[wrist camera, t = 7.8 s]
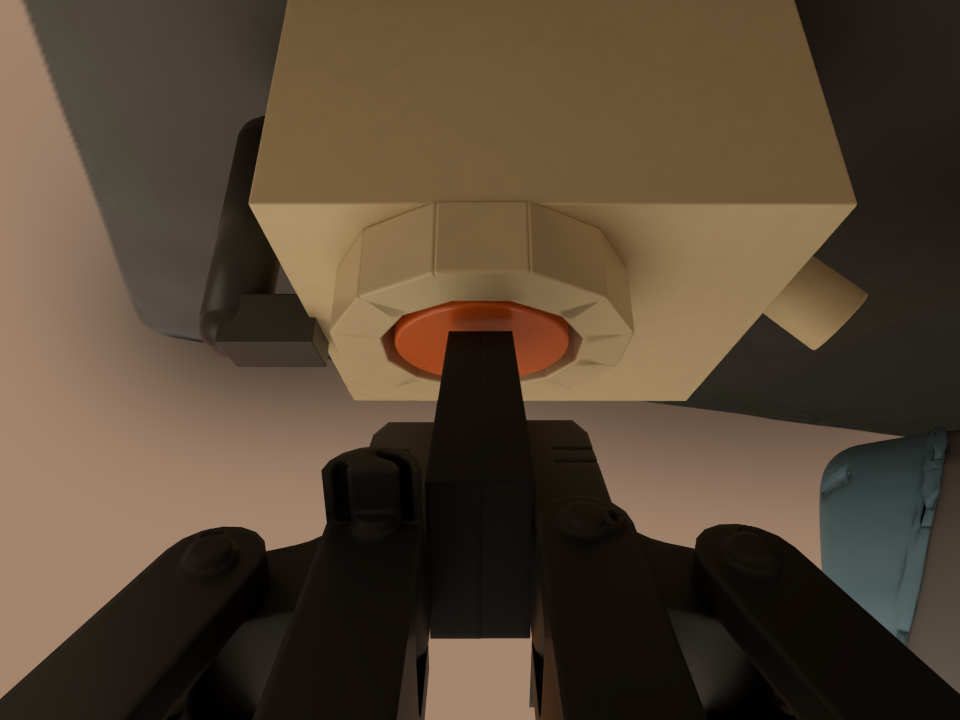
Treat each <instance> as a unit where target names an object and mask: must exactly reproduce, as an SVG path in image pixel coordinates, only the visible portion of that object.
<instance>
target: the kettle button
mask: <svg viewBox="0 0 960 720" xmlns="http://www.w3.org/2000/svg"><path fill="white" fill-rule="evenodd" d="M449 331H512V332H513V339H514V345H515V351H516V358H517V364H518V371H519V376H523V375H527V374H531V373H534V372H537V371H539V370H542V369H544V368H546V367H548V366H550V365H552V364H554V363H555V362H557V361H558V360H559V359H560V358H561V357H562V356H563V355H564V354H565V352H566V350H567V348H568V345H569V327H568V322H567V321H566V320H565V319H564V318H563V317H562V316H559V315H556V314H552V313H549V312H546V311H542V310H539V309H536V308H532V307H529V306H525V305H522V304H519V303H515V302H512V301H450V302H447V303H443V304H440V305H436V306H433V307H430V308H426V309H423V310H419V311H416V312H412V313H409V314H406V315H403V316H402V317H401V318H400V319H399V320H398V321H397V322H396V324H395V339H394V341H395V346H396V348H397V351H398V352H399V354H400V355H401V356H402V357H403V358H404V359H405V360H406V361H407V362H409V363H410V364H412V365H414V366H416V367H418V368H420V369H422V370H425V371H427V372H430V373H433V374H437V375H441V376H442V370H443V364H444V357H445V351H446V345H447V338H448V332H449Z"/></svg>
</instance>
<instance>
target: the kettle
mask: <svg viewBox="0 0 960 720" xmlns="http://www.w3.org/2000/svg"><path fill="white" fill-rule="evenodd" d="M856 205H857V201H856V198H855V195H854V192H853V188H852V185H851V182H850V179H849V175H848V172H847V169H846V166H845V163H844V159H843V156H842V153H841V150H840V146H839V143H838V140H837V137H836V133H835V130H834V127H833V124H832V120H831V117H830V114H829V111H828V107H827V104H826V101H825V98H824V94H823V91H822V88H821V85H820V82H819V78H818V75H817V72H816V69H815V65H814V62H813V59H812V56H811V52H810V49H809V46H808V43H807V39H806V36H805V33H804V30H803V26H802V23H801V20H800V17H799V13H798V10H797V7H796V4H795V1H794V0H288V2H287V7H286V13H285V18H284V23H283V28H282V33H281V38H280V43H279V49H278V54H277V59H276V64H275V69H274V74H273V79H272V85H271V90H270V95H269V100H268V105H267V110H266V116H265V121H264V126H263V131H262V136H261V141H260V146H259V152H258V157H257V162H256V167H255V172H254V177H253V182H252V188H251V193H250V198H249V206H250V208H251V210H252V211H253V213H254V215H255V217H256V219H257V221H258V223H259V224H260V226H261V228H262V230H263V232H264V234H265V236H266V237H267V239H268V241H269V243H270V245H271V247H272V249H273V250H274V252H275V254H276V256H277V258H278V260H279V262H280V263H281V265H282V267H283V269H284V271H285V273H286V275H287V276H288V278H289V280H290V282H291V284H292V286H293V288H294V289H295V291H296V293H297V295H298V297H299V299H300V301H301V303H302V304H303V306H304V308H305V310H306V312H307V314H308V316H309V317H315V318H316V319H317V321H318V323H319V325H320V327H321V329H322V331H323V333H324V335H325V337H326V339H327V340H328V342H329V348H328V353H329V355H330V356H331V358H332V360H333V362H334V364H335V366H336V368H337V369H338V371H339V373H340V375H341V377H342V379H343V381H344V382H345V384H346V386H347V388H348V390H349V392H350V393H351V395H352V397H353V399H354V400H438V395H439V389H440V383H441V375H437V374H433V373H430V372H427V371H425V370H422V369H420V368H418V367H416V366H414V365H412V364H410V363H409V362H407V361H406V360H405V359H404V358H403V357H402V356H401V355H400V354H399V352H398V351H397V348H396V346H395V341H394V339H395V324H396V322H397V321H398V320H399V319H400V318H401V317H402V316H403V315H406V314H409V313H412V312H416V311H419V310H423V309H426V308H430V307H433V306H436V305H440V304H443V303H447V302H450V301H512V302H515V303H519V304H522V305H525V306H529V307H532V308H536V309H539V310H542V311H546V312H549V313H552V314H556V315H559V316H562V317H563V318H564V319H565V320H566V321H567V322H568V327H569V345H568V348H567V350H566V352H565V354H564V355H563V356H562V357H561V358H560V359H559V360H558V361H557V362H555V363H554V364H552V365H550V366H548V367H546V368H544V369H542V370H539V371H537V372H534V373H531V374H527V375H523V376H519V377H520V384H521V390H522V396H523V401H686V400H687V399H688V398H689V397H690V396H691V394H692V393H693V392H694V391H695V390H696V389H697V388H698V386H699V385H700V384H701V383H702V382H703V381H704V380H705V378H706V377H707V376H708V375H709V374H710V373H711V371H712V370H713V369H714V368H715V367H716V366H717V365H718V363H719V362H720V361H721V360H722V359H723V358H724V357H725V355H726V354H727V353H728V352H729V351H730V350H731V349H732V347H733V346H734V345H735V344H736V343H737V342H738V341H739V339H740V338H741V337H742V336H743V335H744V334H745V333H746V331H747V330H748V329H749V328H750V327H751V326H752V325H753V323H754V322H755V321H756V320H757V319H758V318H759V317H760V315H761V314H762V313H763V312H764V311H765V310H766V309H767V307H768V306H769V305H770V304H771V303H772V302H773V301H774V299H775V298H776V297H777V296H778V295H779V294H780V293H781V291H782V290H783V289H784V288H785V287H786V286H787V285H788V283H789V282H790V281H791V280H792V279H793V278H794V277H795V275H796V274H797V273H798V272H799V271H800V270H801V269H802V267H803V266H804V265H805V264H806V263H807V262H808V261H809V259H810V258H811V257H812V256H813V255H814V254H815V253H816V251H817V250H818V249H819V248H820V247H821V246H822V245H823V243H824V242H825V241H826V240H827V239H828V238H829V236H830V235H831V234H832V233H833V232H834V231H835V230H836V228H837V227H838V226H839V225H840V224H841V223H842V222H843V220H844V219H845V218H846V217H847V216H848V215H849V214H850V212H851V211H852V210H853V209H854V208H855V207H856Z"/></svg>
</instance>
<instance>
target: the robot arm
mask: <svg viewBox="0 0 960 720" xmlns="http://www.w3.org/2000/svg"><path fill="white" fill-rule="evenodd" d="M946 429H947V428H946V426H941V427H935V428H932V429H931V430H930V431H929V432H928V433H925V434H919V435H914V436H908V437H902V438H896V439H891V440H885V441H879V442H874V443H868V444H862V445H857V446H854V447H850V448H848V449H846V450H844V451H842V452H840V453H839V454H837V455H836V456H835V457H834V458H833V459H832V460H831V461H830V462H829V463H828V465H827V467H826V468H825V470H824V473H823V476H822V480H821V485H820V543H821V563H822V571H821V570H820V569H819V568H818V567H817V566H815V565H814V564H813V563H812V562H811V561H810V560H809V559H808V558H806V557H805V556H804V555H803V554H802V553H801V552H800V551H799V550H797V549H796V548H795V547H794V546H792V545H791V544H789V543H788V542H786V541H785V540H783V539H782V538H781V537H779V536H777V535H775V534H772V533H770V532H767V531H765V530H762V529H760V528H756V527H752V526H747V525H740V524H719V525H716V526H713V527H710V528H707V529H705V530H704V531H703V532H702V533H701V534H700V535H699V536H698V537H697V539H696V545H695V549H693V548H689V547H684V546H679V545H674V544H669V543H665V542H661V541H658V540H654V539H651V538H649V537H646V536H644V535H642V534H640V533H637V531H636V529H635V526H634V523H633V521H632V520H631V519H630V517H629V516H628V514H627V513H626V512H625V511H624V510H622V509H621V508H619V507H618V506H616V505H615V504H613V503H612V502H611V499H610V496H609V493H608V491H607V488H606V485H605V482H604V479H603V476H602V473H601V471H600V468H599V465H598V463H597V459H596V456H595V453H594V451H593V449H592V445H591V442H590V439H589V436H588V433H587V432H586V431H584V430H583V429H582V428H581V427H580V426H578V425H577V424H576V423H575V422H574V421H572V420H526V416H525V409H524V403H523V396H522V390H521V384H520V377H519V371H518V364H517V358H516V351H515V345H514V339H513V332H512V331H449V332H448V338H447V345H446V351H445V357H444V364H443V370H442V376H441V383H440V389H439V395H438V402H437V408H436V415H435V421H434V422H389V423H387V424H386V425H385V426H384V427H383V428H381V429H380V430H379V431H378V432H377V433H375V434H374V435H373V438H372V441H371V444H370V447H365V448H358V449H355V450H352V451H348V452H345V453H342V454H341V455H339V456H337V457H335V458H334V459H332V460H330V461H329V462H328V463H327V465H326V466H325V467H324V468H323V469H322V480H323V490H324V499H325V509H326V518H327V524H326V527H325V530H324V532H323V535H322V536H320V537H318V538H316V539H314V540H311V541H309V542H305V543H301V544H298V545H294V546H289V547H285V548H280V549H275V550H271V551H266V548H265V541H264V540H263V539H262V538H261V537H260V536H259V535H258V534H257V533H256V532H254V531H251V530H248V529H245V528H242V527H219V528H214V529H208V530H204V531H201V532H198V533H196V534H193V535H191V536H189V537H186V538H184V539H182V540H180V541H179V542H177V543H176V544H174V545H173V546H172V547H170V548H169V549H167V550H166V551H165V552H164V553H162V554H161V555H160V556H159V557H158V558H157V559H156V560H155V561H154V562H152V563H151V564H150V565H149V566H148V567H147V568H146V569H145V570H144V571H142V572H141V573H140V574H139V575H138V576H137V577H136V578H135V579H134V580H132V581H131V582H130V583H129V584H128V585H127V586H126V587H125V588H123V589H122V590H121V591H120V592H119V593H118V594H117V595H116V596H115V597H113V598H112V599H111V600H110V601H109V602H108V603H107V604H106V605H105V606H103V607H102V608H101V609H100V610H99V611H98V612H97V613H96V614H95V615H93V616H92V617H91V618H90V619H89V620H88V621H87V622H86V623H84V624H83V625H82V626H81V627H80V628H79V629H78V630H77V631H76V632H75V633H73V634H72V635H71V636H70V637H69V638H68V639H67V640H66V641H64V642H63V643H62V644H61V645H60V646H59V647H58V648H57V649H56V650H54V651H53V652H52V653H51V654H50V655H49V656H48V657H47V658H46V659H44V660H43V661H42V662H41V663H40V664H39V665H38V666H37V667H36V668H34V669H33V670H32V671H31V672H30V673H29V674H28V675H27V676H26V677H24V678H23V679H22V680H21V681H20V682H19V683H18V684H17V685H16V686H14V687H13V688H12V689H11V690H10V691H9V692H8V693H7V694H5V695H4V696H3V697H2V698H1V699H0V720H424V719H425V708H426V696H427V685H428V674H429V655H428V641H429V632H430V638H431V639H480V638H530V627H531V633H532V655H531V680H530V707H535V718H536V720H960V430H953V431H946Z"/></svg>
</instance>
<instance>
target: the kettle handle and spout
mask: <svg viewBox="0 0 960 720" xmlns="http://www.w3.org/2000/svg"><path fill="white" fill-rule="evenodd" d="M264 121H265V116H260V117H259V118H255V119H252V120H250V121H249V122H247V123H246V124H245V125H244V126H243V128H242V129H241V131H240V133H239V135H238V139H237V144H236V148H235V153H234V157H233V162H232V167H231V171H230V176H229V181H228V185H227V190H226V195H225V199H224V204H223V209H222V213H221V218H220V223H219V227H218V232H217V237H216V241H215V246H214V251H213V255H212V260H211V265H210V269H209V274H208V279H207V283H206V288H205V293H204V297H203V302H202V307H201V311H200V316H199V323H198V327H199V333H200V336H201V338H202V340H203V341H204V343H205V344H206V346H207V347H208V348H209V349H211V350H212V351H213V352H214V353H216V354H218V355H221V356H223V357H227V358H230V359H231V361H232V362H233V363H234V364H235V365H236V366H237V367H326V365H327V357H328V348H329V342H328V340H327V339H326V337H325V335H324V333H323V331H322V329H321V327H320V325H319V323H318V321H317V319H316V318H315V317H309V316H308V314H307V312H306V310H305V308H304V306H303V304H302V303H301V301H300V299H299V297H298V295H297V294H275V290H276V284H277V278H278V272H279V265H280V262H279V260H278V258H277V256H276V254H275V252H274V250H273V249H272V247H271V245H270V243H269V241H268V239H267V237H266V236H265V234H264V232H263V230H262V228H261V226H260V224H259V223H258V221H257V219H256V217H255V215H254V213H253V211H252V210H251V208H250V206H249V198H250V193H251V188H252V182H253V177H254V172H255V167H256V162H257V157H258V152H259V146H260V141H261V136H262V131H263V126H264ZM867 296H868V294H867V293H866V292H865V291H863V290H862V289H860V288H859V287H857V286H856V285H854V284H853V283H852V282H850V281H849V280H847V279H846V278H844V277H843V276H841V275H840V274H839V273H837V272H836V271H834V270H833V269H831V268H830V267H828V266H827V265H826V264H824V263H823V262H821V261H820V260H818V259H817V258H815V257H814V256H812V257H811V258H810V259H809V261H808V262H807V263H806V264H805V265H804V266H803V267H802V269H801V270H800V271H799V272H798V273H797V274H796V275H795V277H794V278H793V279H792V280H791V281H790V282H789V283H788V285H787V286H786V287H785V288H784V289H783V290H782V291H781V293H780V294H779V295H778V296H777V297H776V298H775V299H774V301H773V302H772V303H771V304H770V305H769V306H768V307H767V309H766V310H765V311H764V312H763V313H764V314H765V315H766V316H768V317H769V318H770V319H772V320H773V321H774V322H776V323H777V324H778V325H780V326H781V327H782V328H784V329H785V330H786V331H788V332H789V333H790V334H792V335H793V336H794V337H796V338H797V339H799V340H800V341H801V342H803V343H804V344H805V345H807V346H808V347H809V348H811V349H812V350H815V349H817V348H819V347H820V346H821V345H823V344H824V343H825V342H826V341H827V340H828V339H829V338H830V337H831V336H832V335H833V334H835V333H836V332H837V331H838V330H839V329H840V328H841V327H842V326H843V325H844V323H845V322H846V321H847V320H848V319H849V318H850V317H851V316H852V315H853V314H854V313H855V312H856V311H857V309H858V308H859V307H860V306H861V305H862V304H863V302H864V301H865V300H866V298H867Z"/></svg>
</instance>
